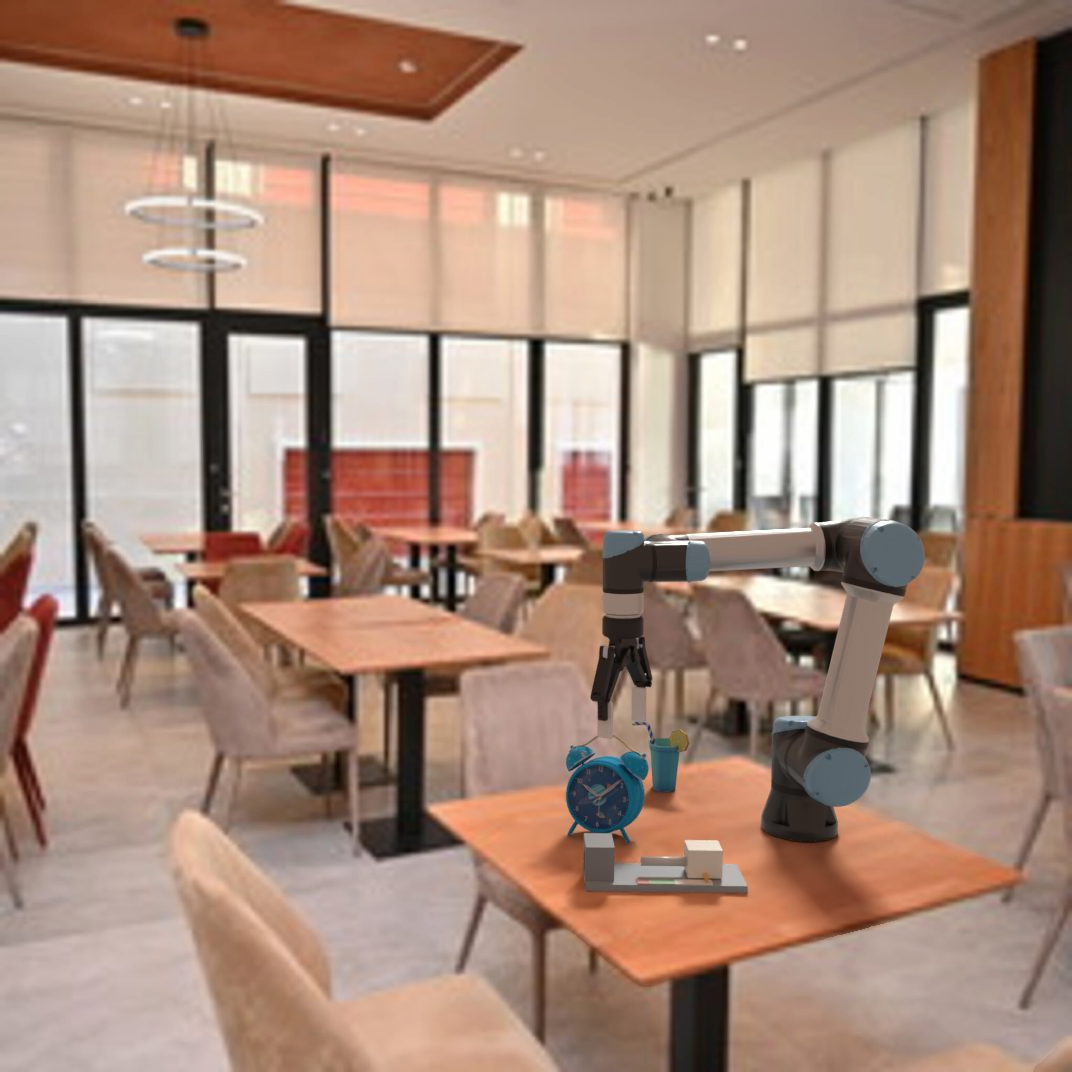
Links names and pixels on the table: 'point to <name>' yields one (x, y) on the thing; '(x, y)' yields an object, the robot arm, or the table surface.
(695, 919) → the table surface
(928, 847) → the table surface
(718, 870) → the plunger
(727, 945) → the table surface
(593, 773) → the alarm clock
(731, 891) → the gauge board
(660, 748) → the cup
